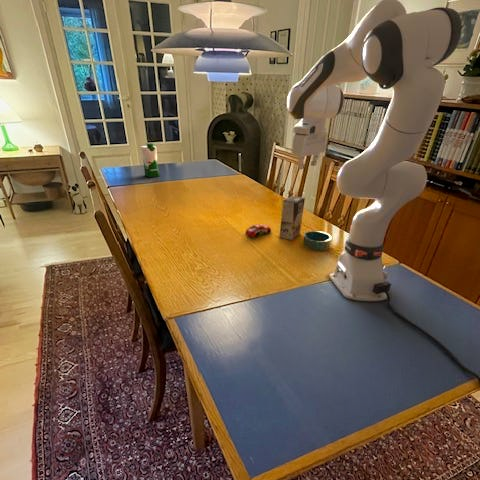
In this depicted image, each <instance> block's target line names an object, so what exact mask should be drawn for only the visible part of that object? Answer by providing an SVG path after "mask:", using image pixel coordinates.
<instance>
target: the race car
mask: <svg viewBox="0 0 480 480" xmlns="http://www.w3.org/2000/svg"><path fill="white" fill-rule="evenodd" d="M271 231H272V228H271V226H270V225H266V224H258V223H256V224H254V225H253V224H252V225H251V226H249V227H248V228H247V229H246V230H245V235H246V236H249V237H250V238H258V237H259V236H262V235H265V234H270V233H271Z"/></svg>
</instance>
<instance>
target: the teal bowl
mask: <svg viewBox="0 0 480 480" xmlns="http://www.w3.org/2000/svg"><path fill="white" fill-rule="evenodd" d="M331 242H332V236H331V235H330V234H329V233H327V232H324V231H319V230H317V231H316V230H310V231H306V232H304V234H303V238H302V246H303V247H304V248H306V249H309V250H311V251H315V252H322V251H326V250H329V249H330V248H331V244H332V243H331Z"/></svg>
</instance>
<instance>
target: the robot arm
mask: <svg viewBox="0 0 480 480" xmlns="http://www.w3.org/2000/svg"><path fill="white" fill-rule="evenodd" d="M462 25H463V23H462V19H461V15H460V14H459V12H458V11H457V10H455V9H454V8H451V7H445V6H444V7H443V6H438V7H433V8H430V9H426V10H420V11H412V12H409V13H407V10H406V8H405V6H404V5H403V3H402V2H400V1H399V0H380V1H379V2H377V4H374V6H373V7H372V8H371V9H370V10H369V11H368V12H367V13H366V14H365V15H364V16H363V18H362V19H361V20H360V21H359V22H358V24H357V25H356V26H355V28H354V29H353V31H352V32H351V34H350V35H348V37H347V38H346V39H344V40H343V41H342V42H341V43H340V44H338V45H337V46H336V47H334V48H333V49H331V50H329V51H328V52H327V53H325V54H323V56H321V57H320V58H319V59H318V61H317V62H316V63H315V64H314V65H313V66H312V67H311V69H310V70H309V71H308V72H307V73H306V74H305V75H304V76H303V78H302V79H301V80H299V81H298V82H296V83H294V85H293V86H292V87H291V88H290V90H289V91H288V93H287V98H286V109H287V112H288V113H289V115H290V116H291V117H292V118H293V119H294V120H300V121H299V122H298V123H297V124H295V125H294V126H293V129H292V133H293V138H292V142H291V155H292V157H293V158H297V162H298V167H297V168H298V170H304V169H305V166H306V164H305V161H304V160H305V158H306V157H309V156H313V157H312V160H311V161H310V166H311V167H315V166H317V163H318V160H319V157H320V154H321V153H325V151H326V149H327V141H328V132H327V130H326V122H327V119H333V118H336V117H337V116H338V115H339V114H340V113H341V112H342V110H343V107H344V102H345V93H344V91H343V89H342V88H341V86H340V85H337V84H343V83H357V82H362V81H364V80H366V79H367V78H369V79H370V80H371V81H372V82H374V83H377V84H378V86H379V88H380V89H382V90H389V89H391V88H392V97H391V100H390V103H389V105H388V108H387V109H386V112H385V115H384V118H383V120H382V122H381V125H380V128H379V130H378V132H377V134H376V136H375V138H374V140H373V141H372V142H371V144H370V145H369V146H368V147H367V148H366V149H364V151H363V152H361V153H360V154H359V155H357V156H355V157H353V158H352V159H348V160H347V161H346V162H344V163H343V164H342V166H341V167H340V168H339V170H338V172H337V175H336V187H337V190H338V192H339V193H340V194H341V195H343V196H346V197H348V198H353V199H360V200H361V199H363V200H374V201H373V203H371V204H370V205H369V206H367V207H366V208H365V207H364V208H362V209H360V210H358V212H356V213H355V215H354V216H353V217H352V220H351V225H350V229H349V232H348V236H347V238H346V240H345V243H344V244H345V245H344V250H343V251H342V252H341V253H340V254H339V255H338V258H337V260H336V265H335V268H334V271H333V272H330V274H329V276H328V277H329V279H330V280H331V281H332V283H334V285H335V286H336V287H337V289H338V290H339V292H340V293H341V294H342V295H343V297H344V298H346V299H349V300H353V301H361V302H379V301H384V300H387V306H388V308H389V310H390V311H392V313H393V314H394V315H395V316H398V317H399V318H400V319H402V320H403V321H404V322H405V323H407V324H408V325H410V326H412V327H414V328H415V329H417V330H418V331H419V332H421V333H422V334H423V335H426V336H427V337H428V338H429V339H431V341H433V342H434V343H436V344H437V345H438V346H439V347H440V348H441V349H443V350H444V351H445V353H447V354H448V355H449V357H450V358H451V359H452V360H453V361H454V362H455V364H457V365H458V366H459V367H460V368H461V369H462V370H464V372H466V373H469V374H470V375H471V376H473V377H475V379H476V380H477V381H478V384H480V376H479V374H477V373H476V372H474V371H473V370H470V369H469V368H467V367H466V366H465V365H464V364H463V363H462V362H460V360H459V359H458V358H457V357H456V356H455V355H454V354H453V353H452V352H451V351H450V350H449V349H448V348H447V347H446V346H445V345H443V343H441V341H439V340H438V339H436V338H435V337H434V336H432V335H431V334H430V333H428V332H427V331H426V330H425V329H423V328H422V327H420V326H418V325H417V324H415V323H414V322H412V321H411V320H409V319H407V318H406V317H405V316H404V315H402V314H400V313H399V312H398V311H396V310H395V309H394V308H393V307H392V305H391V296H390V294H389V292H390V289H391V286H392V283H391V282H389V281H385V280H387V278H388V272H387V271H384V269H385V267H386V266H385V263H383V259H382V258H383V257H382V256H383V252H384V239H385V237H386V234H387V230H388V228H389V225H390V224H391V221H392V219H393V218H394V216H395V215H396V214H397V213H398V211H399V210H400V209H402V207H404V206H405V205H406V204H408V203H409V202H411V201H413V200H414V199H416V198H417V197H419V196H420V195H421V194H422V192H423V191H424V189H425V187H426V185H427V182H428V174H427V170H426V168H425V166H424V165H423V164H420V163H416V162H412V161H409V159H411V158H412V157H413V156H414V155H415V154H416V153H417V151H418V150H419V148H420V146H421V144H422V142H423V140H424V138H425V136H426V134H427V133H428V131H429V129H430V127H431V125H432V122H433V120H434V118H435V117H436V113H437V111H438V109H439V106H440V104H441V101H442V99H443V95H444V91H445V87H446V79H445V76H444V74H443V73H442V71H440V70H439V69H438V68H436V67H435V66H437V65H439V64H441V63H443V62H444V61H446V60H447V59H448V58H449V57H451V55H453V53H454V52H455V51H456V49H457V47H458V45H459V42H460V40H461V37H462V29H463V26H462Z"/></svg>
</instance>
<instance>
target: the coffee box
mask: <svg viewBox="0 0 480 480" xmlns="http://www.w3.org/2000/svg"><path fill="white" fill-rule="evenodd" d="M305 200H306V198H305V197H302V196H297V195H296V196H295V195H290V196H289V197H287V198H285V199H283V200H282V201H283V202H282V207H281V219H280V228H279V238H282V239H287V240H290V241H293V240H294V239H295V238H297V236H299V235H300V234H301V230H302V222H303V214H304V209H305V208H304V207H305V202H306V201H305Z"/></svg>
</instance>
